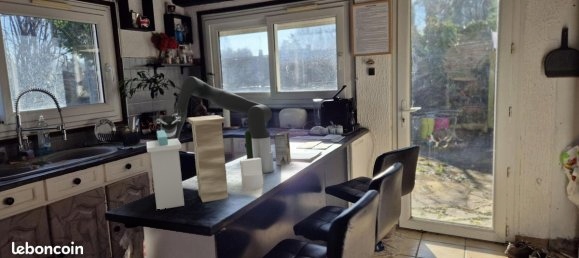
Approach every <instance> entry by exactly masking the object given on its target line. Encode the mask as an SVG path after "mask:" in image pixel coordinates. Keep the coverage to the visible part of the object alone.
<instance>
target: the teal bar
mask: <svg viewBox="0 0 579 258" xmlns="http://www.w3.org/2000/svg"><path fill="white" fill-rule="evenodd" d="M156 137H157V141H158V142H159V145H160V146H161V145H168V139H167V135H166V133H165V131H164V130H161V129H160V130H156Z"/></svg>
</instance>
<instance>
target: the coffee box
mask: <svg viewBox="0 0 579 258" xmlns="http://www.w3.org/2000/svg"><path fill="white" fill-rule="evenodd" d="M273 139H274V153H275V164H276V166H286V165H287V166H288V165H289V164H290V163H291V161H292V159H291V157H292V156H291V145H290V133H289V132H278V133H275V134H274V136H273Z"/></svg>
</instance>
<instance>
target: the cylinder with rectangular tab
mask: <svg viewBox="0 0 579 258" xmlns="http://www.w3.org/2000/svg"><path fill="white" fill-rule="evenodd" d="M239 163H240V175H241V186H242V189H243V190H258V189H261V188H263V186H264V181H263V178H264V177H263V173H262V165H261V158H252V159H247V158H246V159H240V160H239Z"/></svg>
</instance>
